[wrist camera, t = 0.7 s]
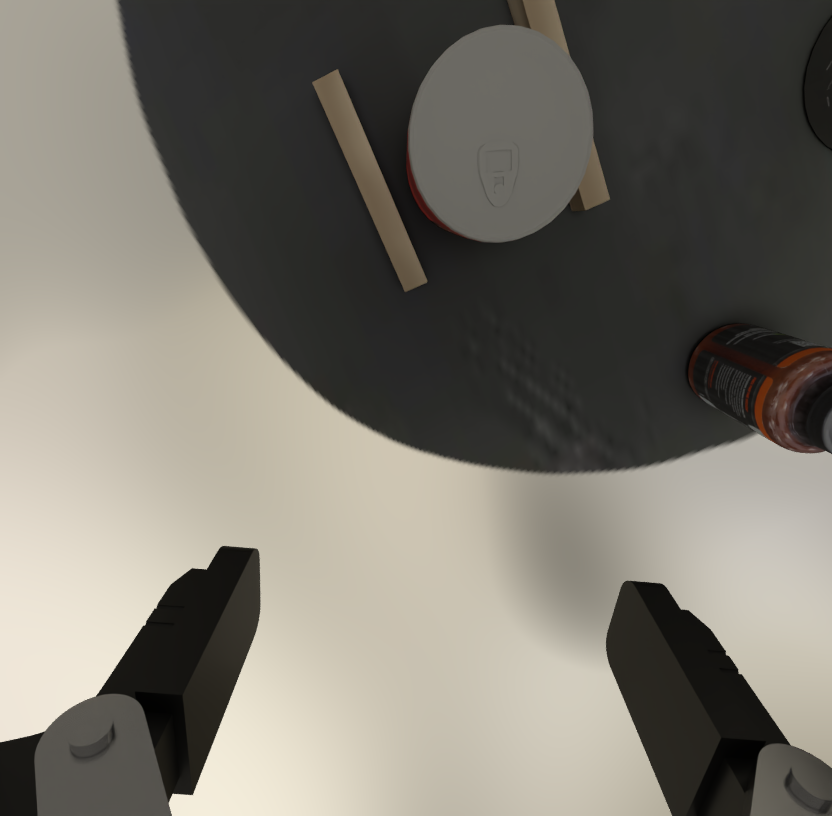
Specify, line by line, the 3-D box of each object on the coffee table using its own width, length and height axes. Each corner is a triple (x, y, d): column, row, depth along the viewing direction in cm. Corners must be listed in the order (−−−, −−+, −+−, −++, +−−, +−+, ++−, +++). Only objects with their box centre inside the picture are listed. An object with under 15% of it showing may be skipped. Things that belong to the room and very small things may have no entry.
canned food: (430, 252, 33) (443, 268, 22) (386, 119, 30) (377, 67, 20) (545, 209, 32) (614, 205, 22) (511, 68, 29) (570, -12, 19)
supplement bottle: (700, 417, 37) (818, 497, 27) (671, 349, 35) (787, 405, 25) (779, 377, 36) (936, 443, 26) (754, 304, 34) (912, 343, 24)
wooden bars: (531, -17, 28) (543, -38, 25) (594, 200, 32) (610, 199, 29) (319, 93, 29) (312, 82, 27) (404, 286, 33) (405, 292, 31)
